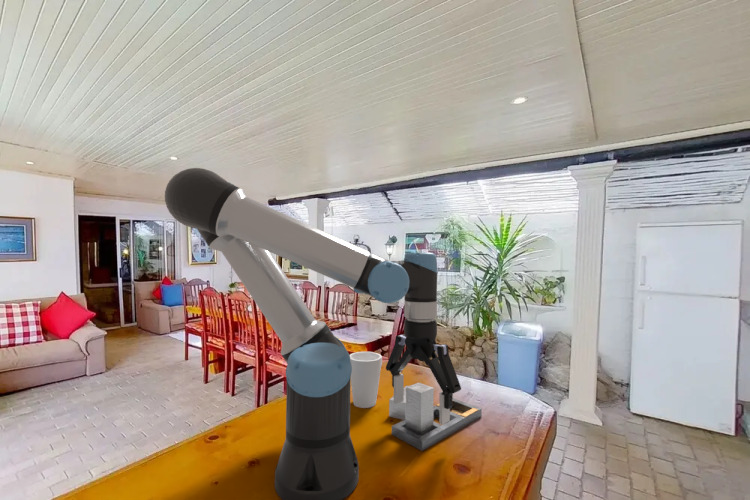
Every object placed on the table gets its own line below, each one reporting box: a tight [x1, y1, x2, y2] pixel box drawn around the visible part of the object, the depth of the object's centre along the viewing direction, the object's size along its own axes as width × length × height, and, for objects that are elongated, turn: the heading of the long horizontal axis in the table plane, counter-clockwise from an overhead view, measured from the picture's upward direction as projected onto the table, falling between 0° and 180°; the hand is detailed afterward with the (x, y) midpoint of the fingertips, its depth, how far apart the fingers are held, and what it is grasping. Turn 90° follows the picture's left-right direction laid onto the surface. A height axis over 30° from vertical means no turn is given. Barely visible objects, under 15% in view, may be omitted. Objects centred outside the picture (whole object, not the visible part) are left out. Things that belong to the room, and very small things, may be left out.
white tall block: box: [406, 382, 435, 436], centre depth 79 cm, size 4×4×11 cm
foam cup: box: [349, 351, 383, 409], centre depth 96 cm, size 10×9×13 cm
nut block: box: [388, 385, 409, 421], centre depth 92 cm, size 11×4×4 cm, turn 151°
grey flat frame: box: [391, 397, 482, 452], centre depth 84 cm, size 24×9×2 cm, turn 133°
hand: (420, 411), depth 79 cm, fingers open, 13 cm apart
